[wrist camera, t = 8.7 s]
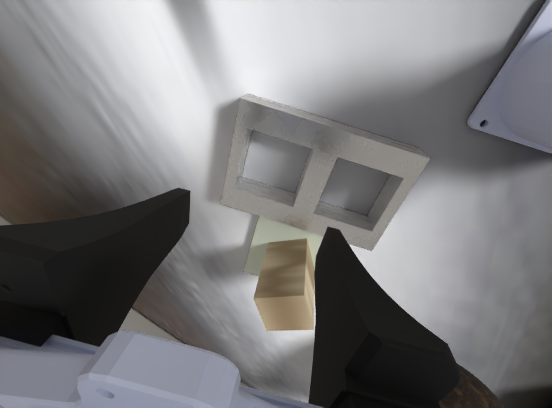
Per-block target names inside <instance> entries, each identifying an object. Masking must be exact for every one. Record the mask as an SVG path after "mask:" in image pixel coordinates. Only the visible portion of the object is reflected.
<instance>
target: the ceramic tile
mask: <svg viewBox="0 0 552 408" xmlns="http://www.w3.org/2000/svg"><path fill="white" fill-rule="evenodd" d="M323 237H324V236H322V235H319V234H315V233H312V232H309V231H306V230H303V229H299V228H296V227H293V226H290V225H287V224H283V223H280V222H277V221H274V220H270V219H267V218H264V217H261V216H259V219H258V222H257V226H256V229H255V232H254V236H253V239H252V243H251V246H250V250H249V253H248V257H247V260H246V263H245V267H244V270H243V272H246V273H249V274H253V275H256V276H260V272H261V268H262V265H263V261H264V257H265V253H266V249H267V246H268V242H277V241H286V240H295V239H304V238H307V239H308V244H309V248H310V252H311V257H312V261H313V265H314V270H315V260H316V255H317V252H318V249H319V247H320V244H321V242H322V239H323ZM314 293H315V281H314Z"/></svg>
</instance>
